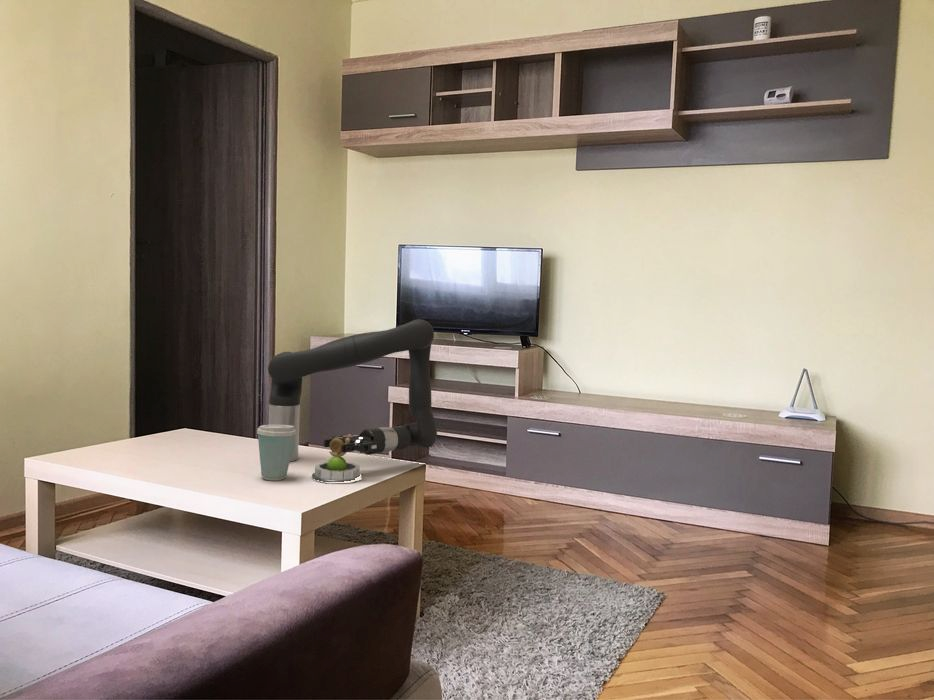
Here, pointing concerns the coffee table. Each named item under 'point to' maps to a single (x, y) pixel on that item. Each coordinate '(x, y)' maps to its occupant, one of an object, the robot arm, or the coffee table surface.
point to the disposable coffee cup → (275, 450)
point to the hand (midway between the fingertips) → (332, 446)
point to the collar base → (336, 473)
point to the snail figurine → (337, 455)
